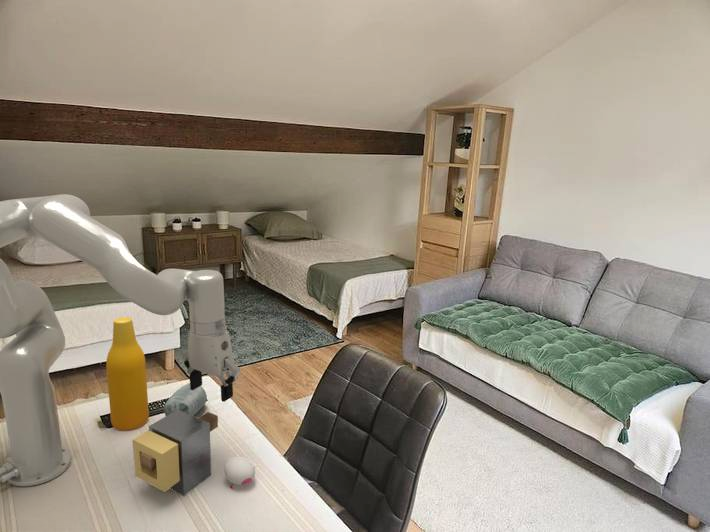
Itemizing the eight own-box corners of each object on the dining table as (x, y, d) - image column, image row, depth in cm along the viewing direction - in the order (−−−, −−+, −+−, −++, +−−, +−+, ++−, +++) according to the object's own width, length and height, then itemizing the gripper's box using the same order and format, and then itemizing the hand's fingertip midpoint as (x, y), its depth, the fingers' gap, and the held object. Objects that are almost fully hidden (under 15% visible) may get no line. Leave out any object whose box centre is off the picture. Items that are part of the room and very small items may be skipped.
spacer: (164, 491, 100) (162, 454, 98) (135, 476, 104) (132, 439, 102) (179, 480, 104) (178, 444, 101) (150, 465, 108) (148, 430, 106)
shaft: (151, 471, 100) (150, 458, 99) (141, 466, 102) (140, 453, 101) (217, 426, 116) (217, 415, 116) (208, 422, 118) (208, 411, 117)
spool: (190, 424, 125) (178, 386, 126) (160, 433, 127) (150, 396, 129) (220, 409, 138) (209, 375, 139) (193, 418, 140) (183, 385, 142)
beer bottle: (154, 412, 135) (148, 313, 127) (142, 431, 126) (134, 327, 119) (119, 411, 134) (111, 312, 127) (105, 431, 125) (95, 326, 118)
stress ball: (257, 494, 111) (268, 465, 113) (237, 495, 104) (250, 464, 106) (232, 481, 115) (244, 452, 116) (211, 480, 108) (224, 450, 109)
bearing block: (184, 496, 105) (181, 441, 102) (152, 478, 110) (148, 426, 106) (211, 474, 112) (209, 423, 108) (180, 459, 116) (177, 409, 113)
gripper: (248, 327, 109) (250, 396, 113) (192, 312, 117) (196, 377, 121) (225, 339, 102) (228, 411, 107) (167, 322, 110) (172, 390, 115)
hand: (211, 393), depth 114 cm, fingers open, 9 cm apart
